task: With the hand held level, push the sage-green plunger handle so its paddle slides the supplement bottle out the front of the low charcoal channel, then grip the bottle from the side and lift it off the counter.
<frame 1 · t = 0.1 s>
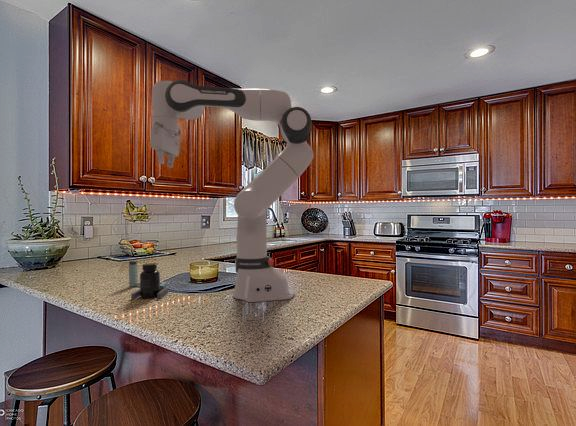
hand: (166, 165, 118), 48 cm above the countertop, tool pointing down, fingers open, 8 cm apart
channel: (150, 296, 120), on the countertop
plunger: (146, 275, 130), point 5 cm above the countertop, slide at 0.0 cm
supplement bottle: (150, 296, 120), on the countertop
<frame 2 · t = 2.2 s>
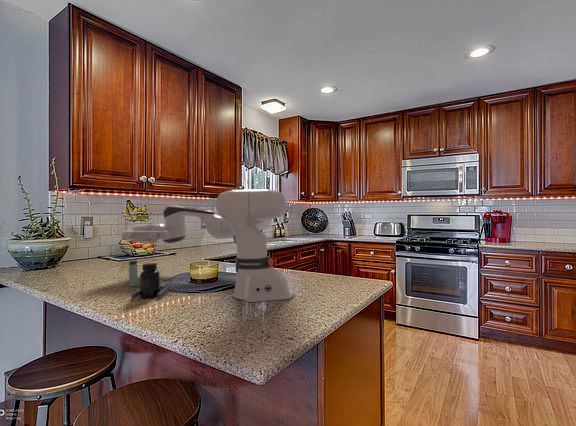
hand: (139, 236, 141), 20 cm above the countertop, tool horizontal, fingers open, 7 cm apart
nothing on the countertop moved.
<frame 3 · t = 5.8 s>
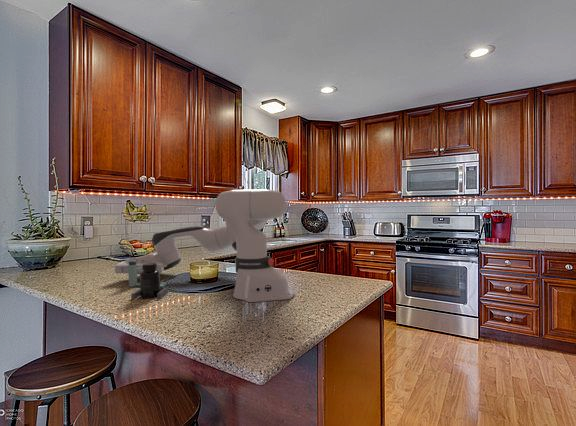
hand: (132, 271, 136), 6 cm above the countertop, tool horizontal, fingers closed, pressing on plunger
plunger: (146, 275, 130), point 5 cm above the countertop, slide at 0.5 cm, touching gripper
everything else where it was.
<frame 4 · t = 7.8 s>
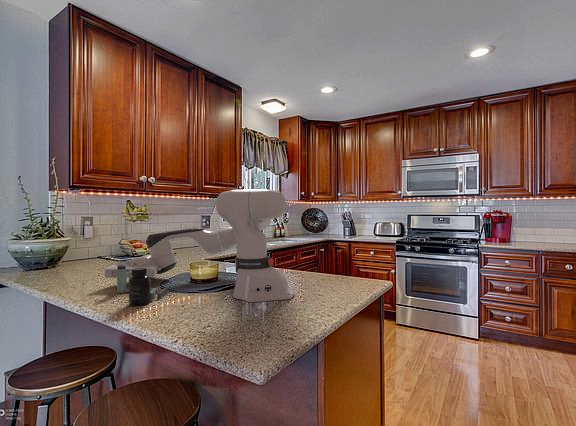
hand: (122, 275, 126), 6 cm above the countertop, tool horizontal, fingers closed, pressing on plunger
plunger: (135, 281, 120), point 5 cm above the countertop, slide at 9.9 cm, touching gripper, supplement bottle
supplement bottle: (140, 304, 111), on the countertop, touching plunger
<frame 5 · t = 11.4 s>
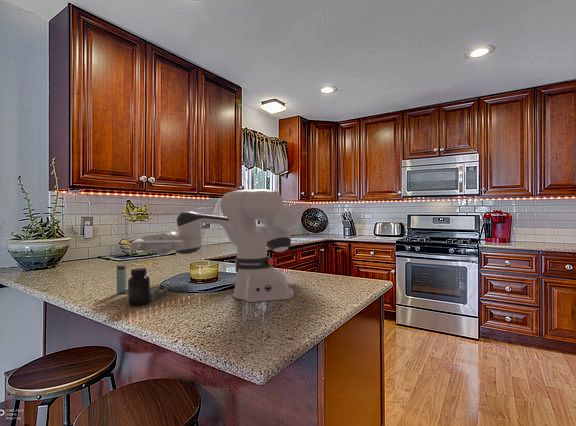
hand: (151, 247, 122), 18 cm above the countertop, tool horizontal, fingers open, 8 cm apart
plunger: (135, 281, 120), point 5 cm above the countertop, slide at 10.3 cm
supplement bottle: (139, 304, 111), on the countertop
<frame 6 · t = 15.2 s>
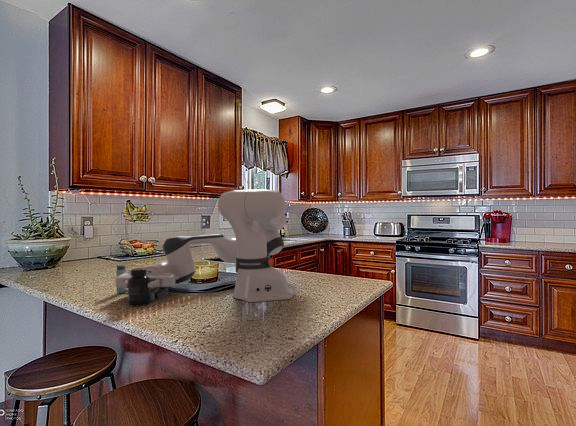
hand: (137, 285, 109), 7 cm above the countertop, tool horizontal, fingers closed on supplement bottle, 7 cm apart
supplement bottle: (139, 304, 111), on the countertop, touching gripper
everything else where it was.
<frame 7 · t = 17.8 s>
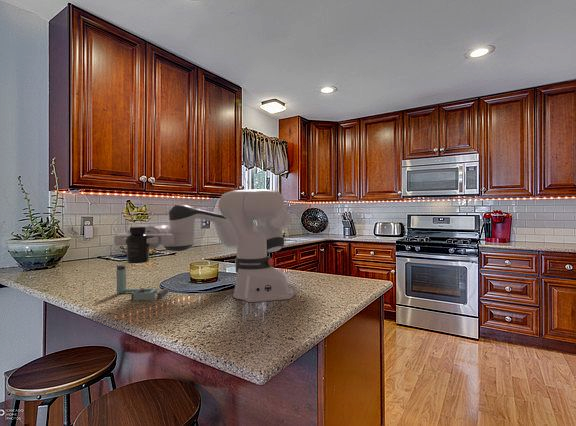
hand: (136, 241, 109), 22 cm above the countertop, tool horizontal, fingers closed on supplement bottle, 7 cm apart
supplement bottle: (138, 262, 110), point 14 cm above the countertop, touching gripper
everything else where it was.
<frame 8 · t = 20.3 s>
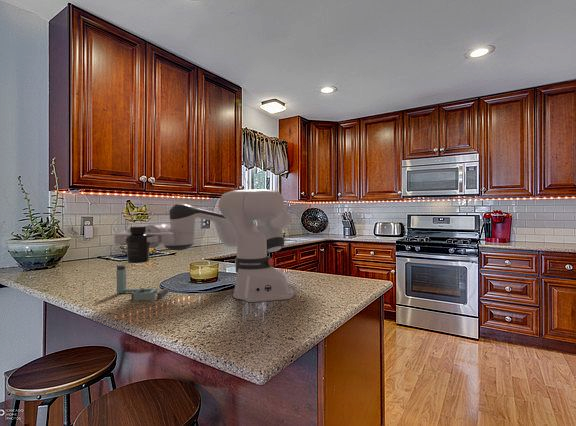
hand: (136, 240, 109), 22 cm above the countertop, tool horizontal, fingers closed on supplement bottle, 7 cm apart
supplement bottle: (138, 262, 110), point 14 cm above the countertop, touching gripper
everything else where it was.
at the end: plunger slide at 10.3 cm; supplement bottle inside the target area (0.7 cm from its centre), point 14.3 cm above the countertop; the gripper is holding supplement bottle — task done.
